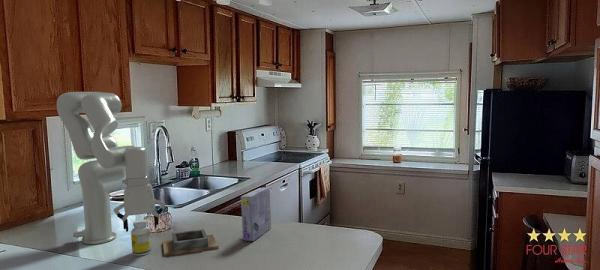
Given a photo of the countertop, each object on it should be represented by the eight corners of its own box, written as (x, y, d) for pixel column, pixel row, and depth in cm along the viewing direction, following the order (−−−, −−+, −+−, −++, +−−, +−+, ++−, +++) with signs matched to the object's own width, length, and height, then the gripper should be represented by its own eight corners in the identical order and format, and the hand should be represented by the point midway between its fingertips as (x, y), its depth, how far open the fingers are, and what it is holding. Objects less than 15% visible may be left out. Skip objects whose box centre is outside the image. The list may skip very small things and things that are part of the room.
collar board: (164, 256, 151) (163, 245, 151) (162, 243, 164) (162, 233, 164) (218, 248, 157) (218, 237, 157) (212, 236, 171) (212, 227, 170)
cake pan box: (262, 226, 183) (260, 185, 181) (273, 227, 181) (271, 186, 179) (241, 241, 165) (239, 196, 163) (253, 242, 163) (251, 197, 161)
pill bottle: (135, 250, 158) (133, 219, 157) (153, 249, 158) (151, 218, 157) (129, 256, 152) (127, 224, 150) (148, 255, 152) (146, 223, 151)
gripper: (110, 186, 146) (114, 235, 147) (163, 180, 152) (167, 228, 153) (112, 182, 153) (116, 229, 154) (162, 177, 159) (166, 222, 160)
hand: (141, 228), depth 154 cm, fingers open, 9 cm apart
